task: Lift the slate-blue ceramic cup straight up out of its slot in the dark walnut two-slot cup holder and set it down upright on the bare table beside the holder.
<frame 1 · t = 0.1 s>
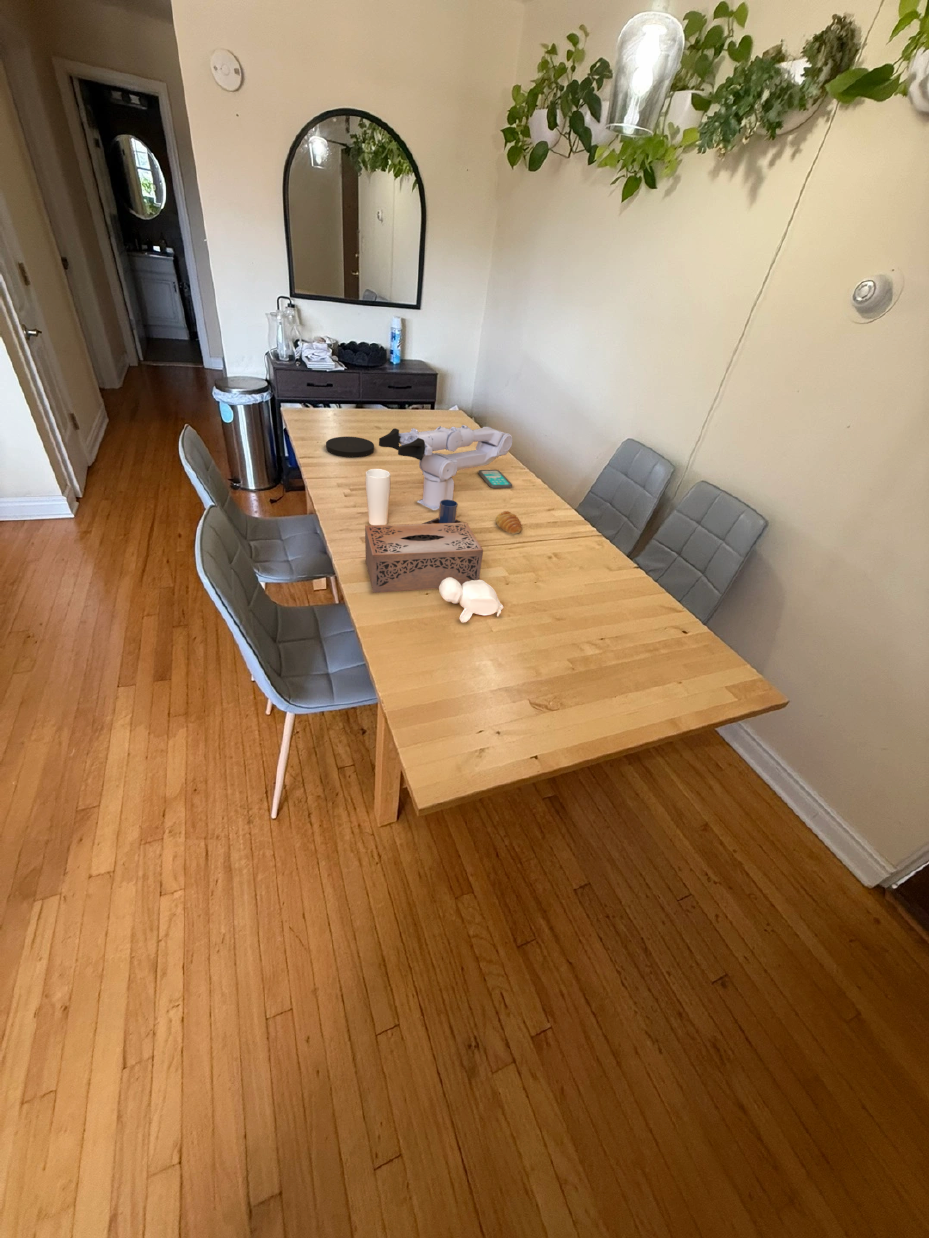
hand: (389, 446, 136), 22 cm above the table, tool horizontal, fingers open, 7 cm apart
tissue box cover: (420, 574, 127), on the table
wireless charger: (350, 450, 194), on the table
pastry: (508, 528, 153), on the table
cup: (446, 529, 147), resting on cup holder
white turtle figurine: (468, 611, 116), on the table
cup holder: (437, 534, 145), on the table
drinking glass: (378, 524, 147), on the table
smartphone: (494, 480, 183), on the table
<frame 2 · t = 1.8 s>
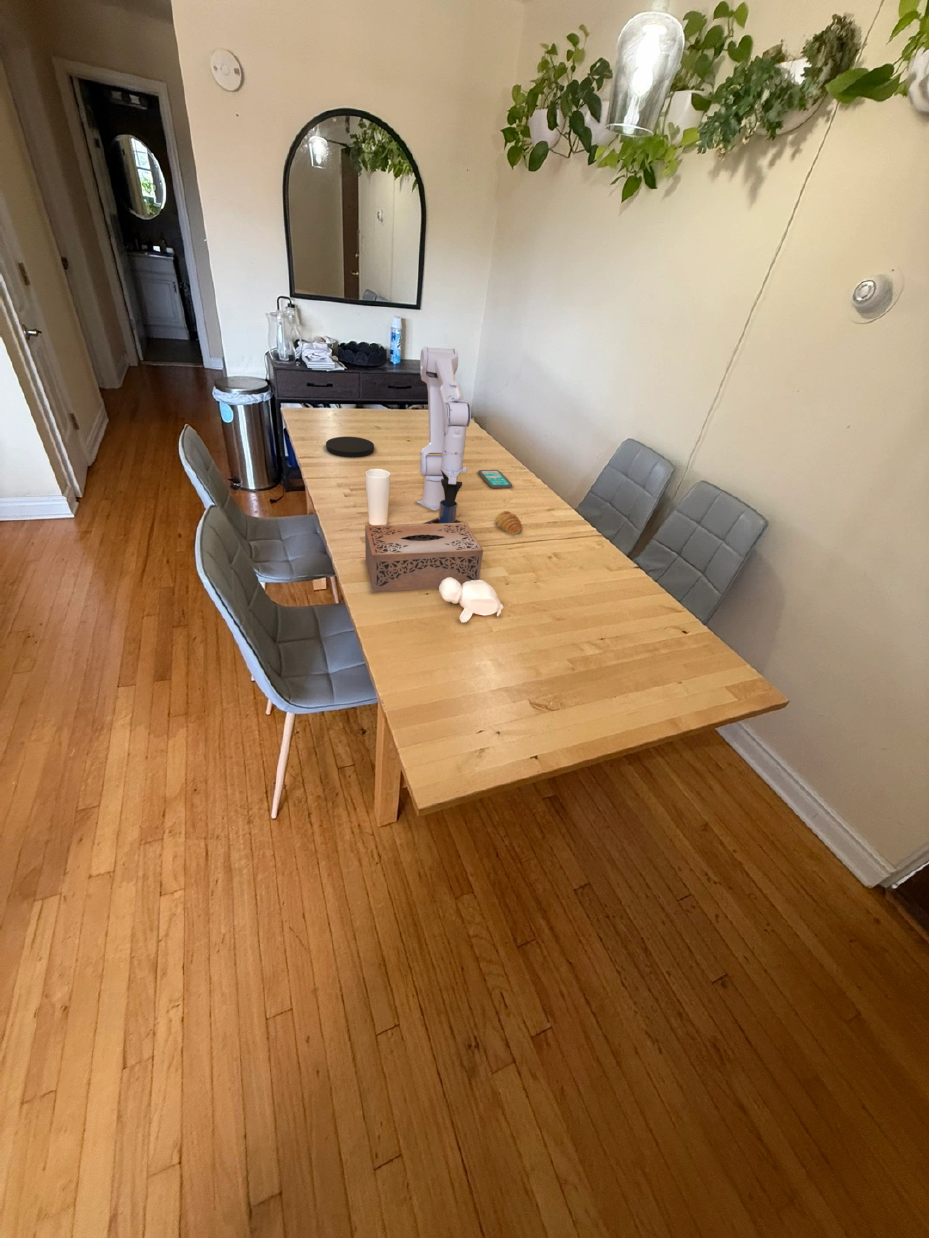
hand: (449, 499, 142), 10 cm above the table, tool pointing down, fingers open, 7 cm apart
nothing on the table moved.
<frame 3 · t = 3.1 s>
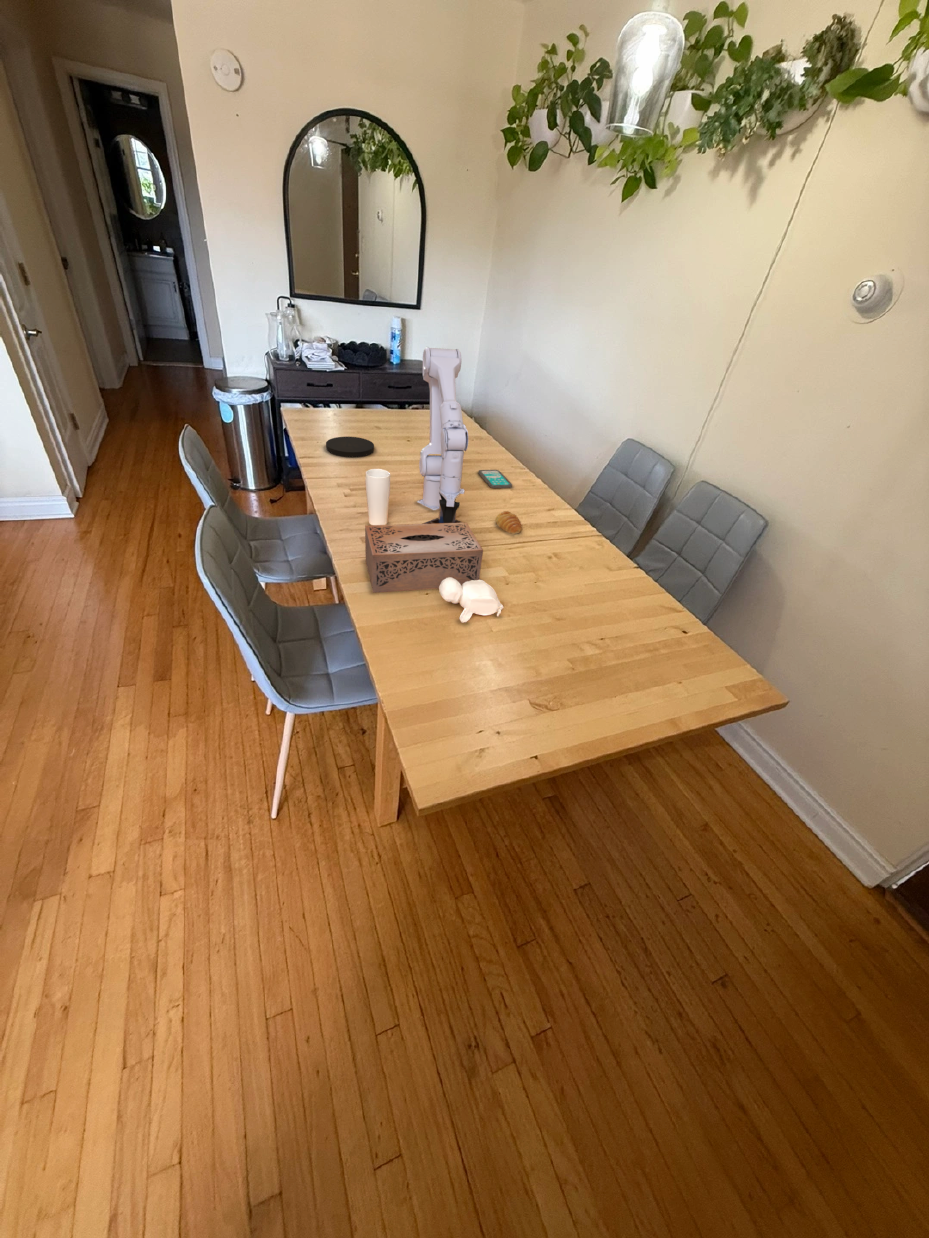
hand: (447, 519, 145), 3 cm above the table, tool pointing down, fingers closed on cup, 5 cm apart
cup: (446, 528, 147), point 1 cm above the table, touching cup holder, gripper
everything else where it was.
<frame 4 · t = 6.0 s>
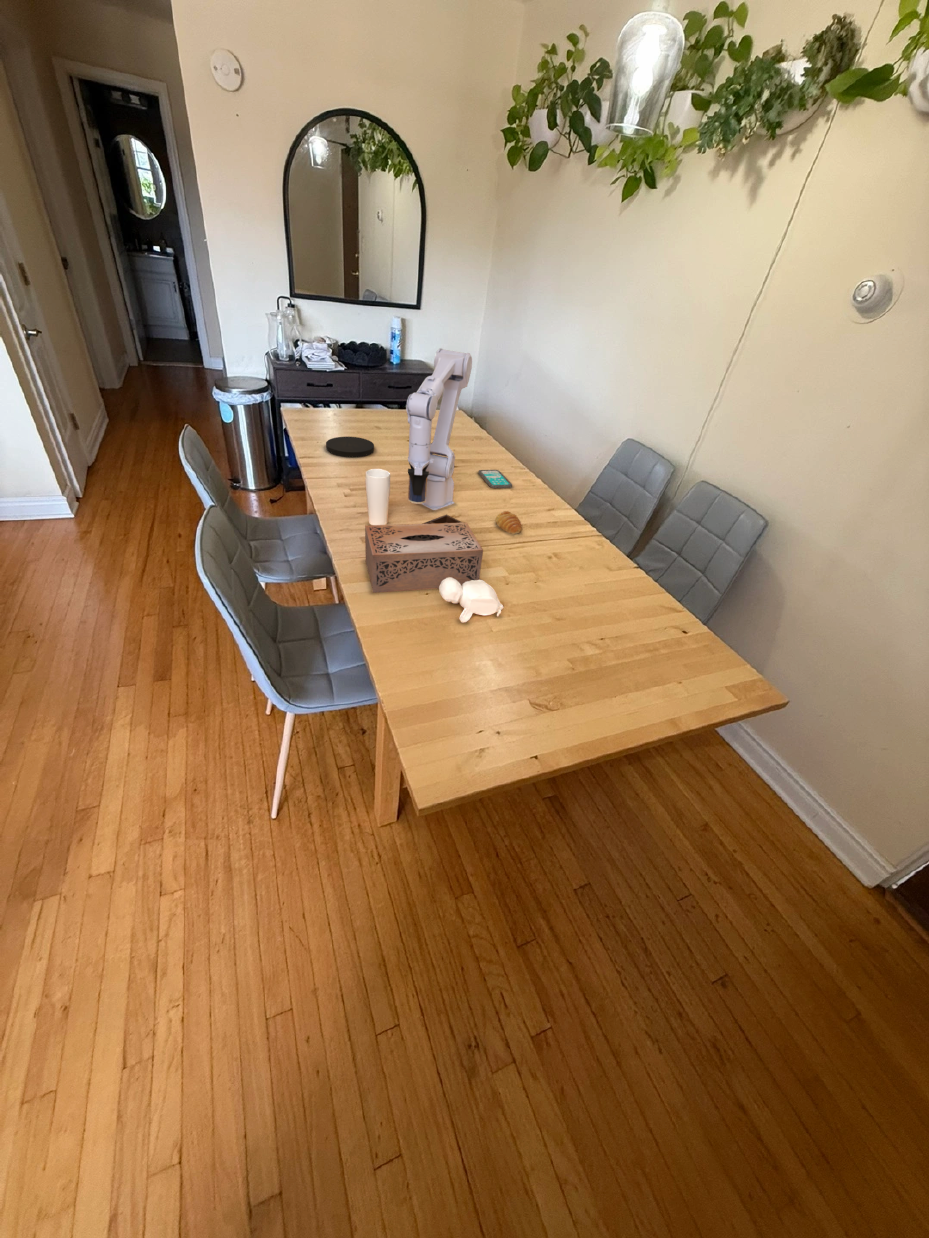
hand: (417, 490, 143), 10 cm above the table, tool pointing down, fingers closed on cup, 5 cm apart
cup: (417, 500, 145), point 7 cm above the table, touching gripper
everything else where it was.
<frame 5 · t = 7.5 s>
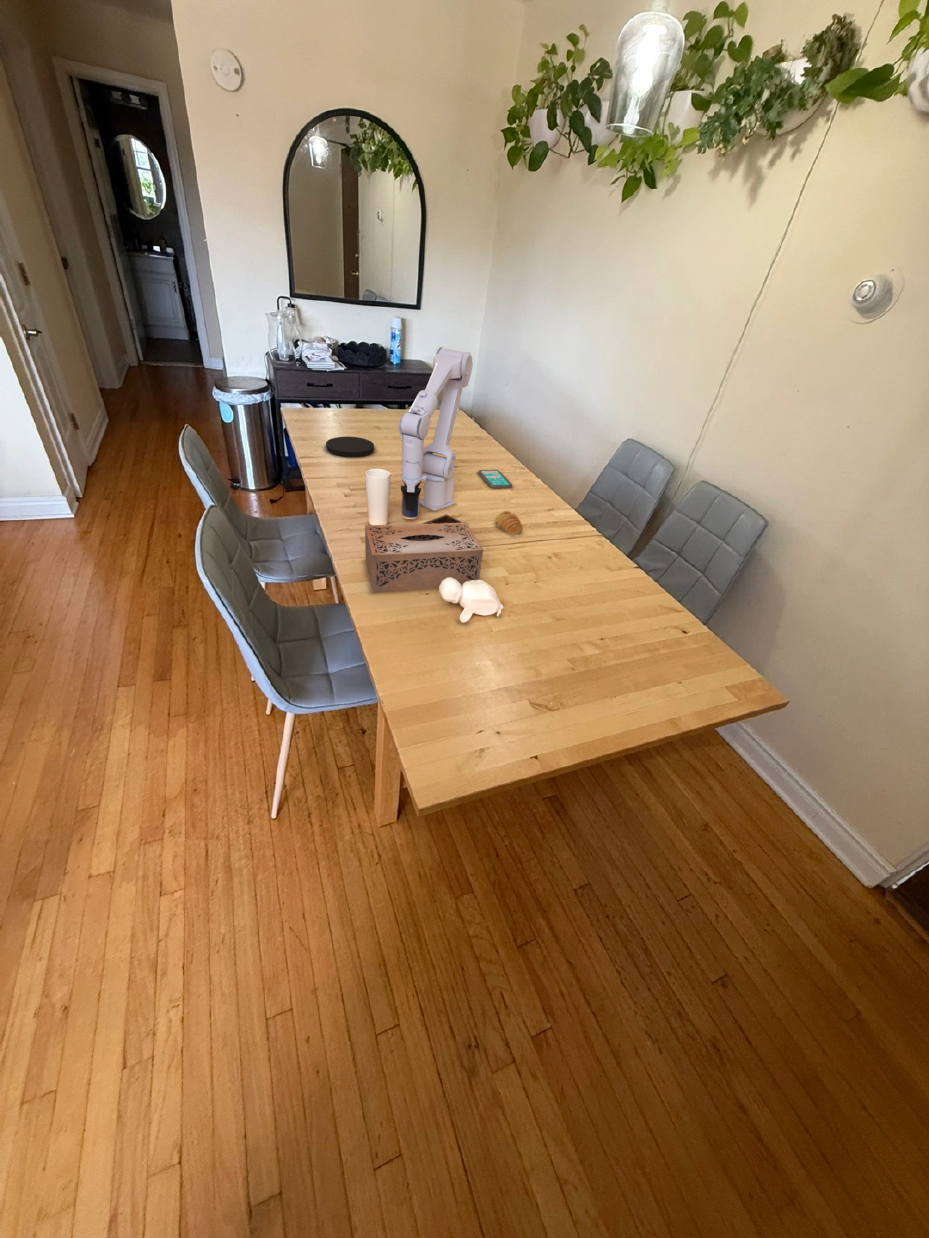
hand: (410, 506, 146), 5 cm above the table, tool pointing down, fingers closed on cup, 5 cm apart
cup: (410, 515, 148), point 2 cm above the table, touching gripper
everything else where it was.
when the fingers open (3 cm above the table, at t = 8.7 s): cup stays where it is, on the table.
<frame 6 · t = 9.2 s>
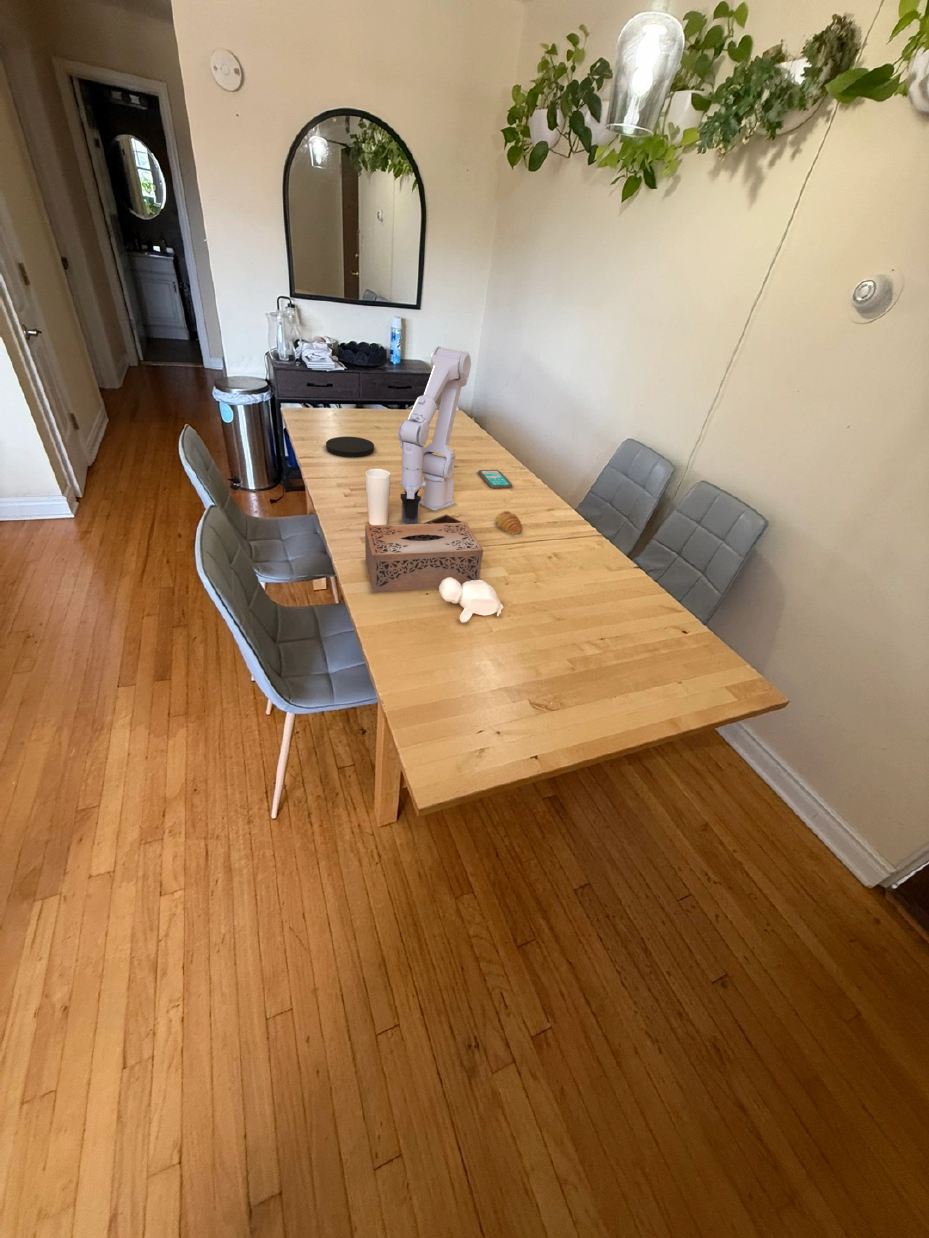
hand: (410, 512, 147), 3 cm above the table, tool pointing down, fingers open, 7 cm apart
cup: (409, 522, 149), on the table
everything else where it was.
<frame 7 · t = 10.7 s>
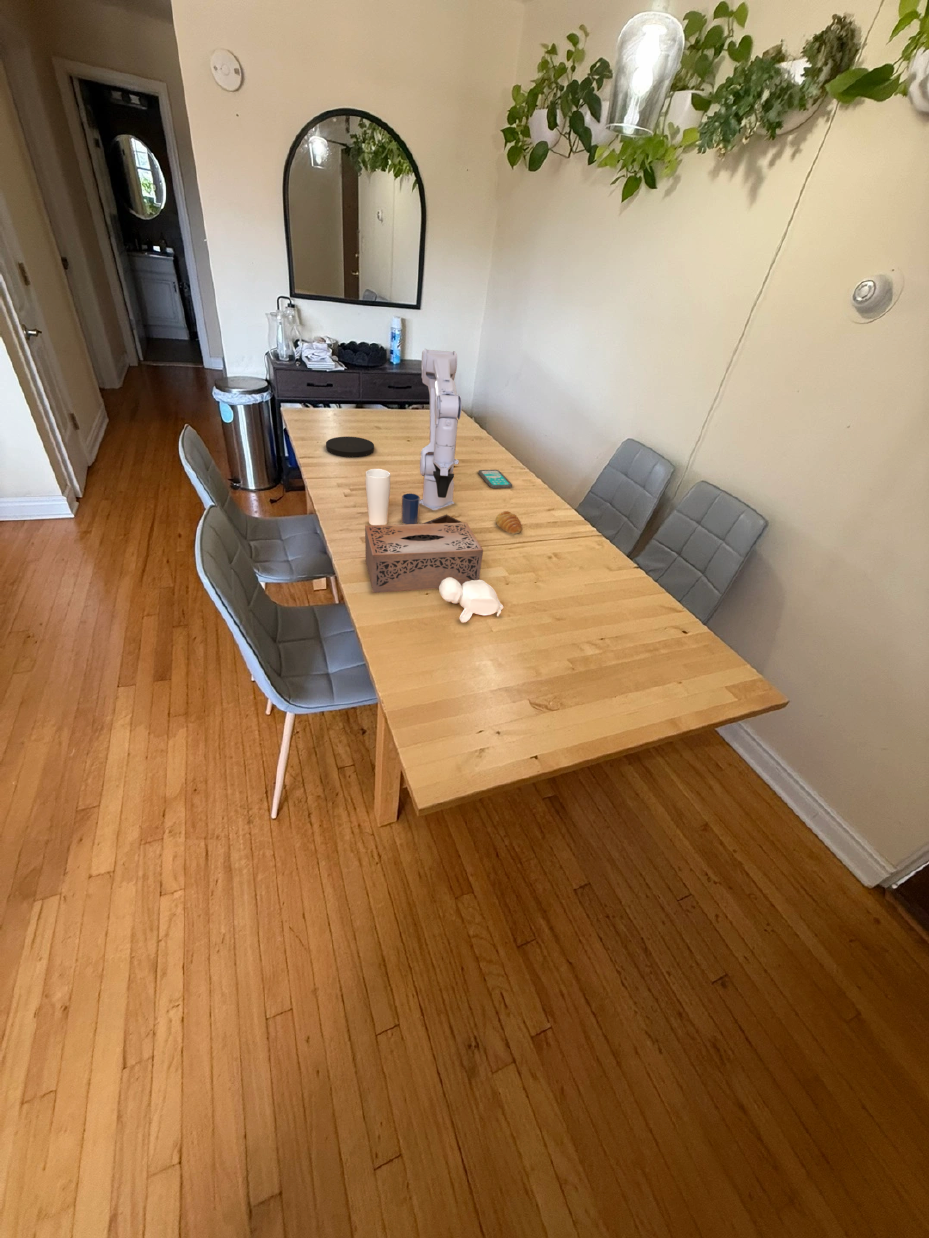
hand: (441, 491, 143), 10 cm above the table, tool pointing down, fingers open, 7 cm apart
nothing on the table moved.
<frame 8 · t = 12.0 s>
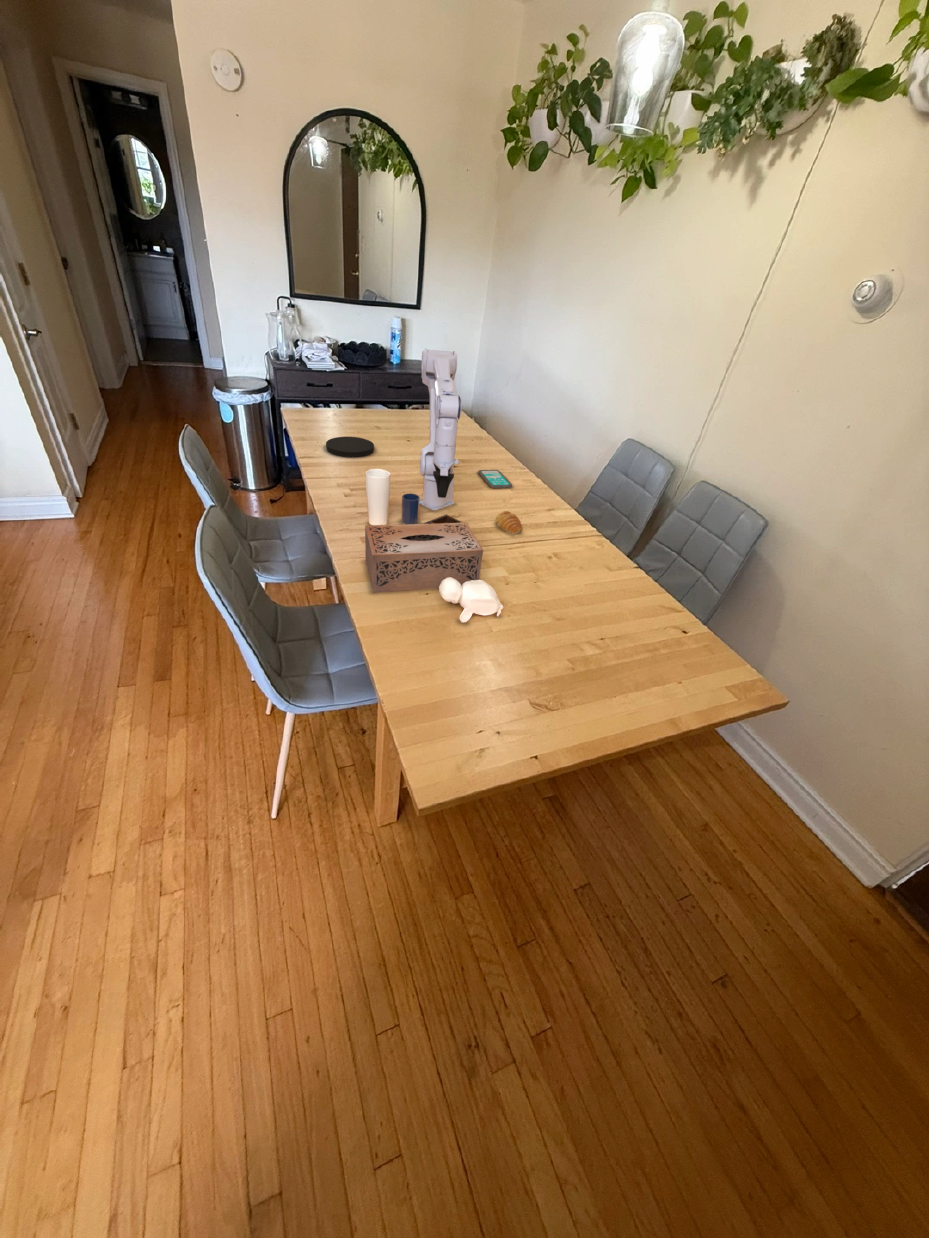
hand: (441, 491, 143), 10 cm above the table, tool pointing down, fingers open, 7 cm apart
nothing on the table moved.
at the end: cup inside the target area (0.0 cm from its centre), on the table; cup tilted 0°; the gripper is holding nothing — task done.
